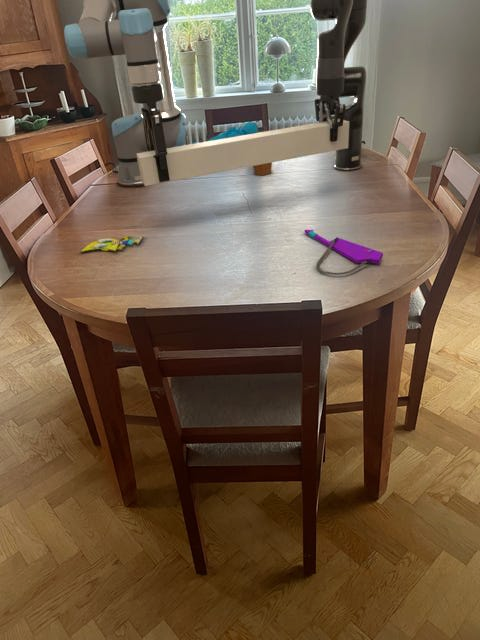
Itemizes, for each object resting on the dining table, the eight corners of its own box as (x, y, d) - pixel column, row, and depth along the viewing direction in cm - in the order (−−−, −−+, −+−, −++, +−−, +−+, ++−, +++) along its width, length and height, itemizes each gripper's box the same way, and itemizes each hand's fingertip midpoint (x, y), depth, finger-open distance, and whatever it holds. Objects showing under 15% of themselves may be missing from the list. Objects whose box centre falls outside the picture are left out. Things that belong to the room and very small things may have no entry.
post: (145, 186, 127) (139, 157, 123) (141, 181, 131) (136, 153, 127) (348, 148, 142) (349, 121, 138) (339, 144, 146) (340, 118, 142)
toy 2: (196, 135, 215) (258, 116, 205) (204, 159, 220) (265, 140, 210) (184, 145, 202) (251, 124, 191) (193, 169, 207) (259, 151, 196)
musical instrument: (365, 286, 105) (394, 240, 117) (364, 278, 104) (394, 233, 116) (270, 272, 118) (305, 232, 130) (268, 265, 117) (304, 225, 129)
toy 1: (132, 249, 128) (79, 250, 130) (133, 252, 128) (80, 253, 130) (143, 234, 136) (94, 235, 138) (144, 236, 137) (94, 237, 139)
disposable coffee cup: (246, 176, 178) (244, 142, 172) (255, 168, 186) (253, 136, 179) (270, 177, 175) (269, 143, 168) (278, 169, 182) (277, 136, 176)
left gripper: (169, 85, 111) (184, 184, 124) (153, 78, 125) (167, 167, 138) (137, 90, 109) (155, 190, 122) (125, 81, 123) (142, 172, 136)
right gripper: (356, 76, 127) (352, 142, 137) (329, 71, 139) (328, 132, 148) (330, 80, 125) (329, 146, 135) (306, 74, 137) (306, 136, 146)
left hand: (162, 177), depth 130 cm, fingers closed on post, 5 cm apart
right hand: (328, 139), depth 141 cm, fingers closed on post, 5 cm apart
